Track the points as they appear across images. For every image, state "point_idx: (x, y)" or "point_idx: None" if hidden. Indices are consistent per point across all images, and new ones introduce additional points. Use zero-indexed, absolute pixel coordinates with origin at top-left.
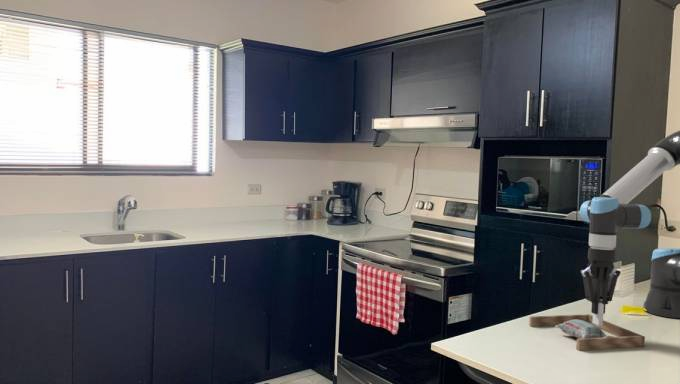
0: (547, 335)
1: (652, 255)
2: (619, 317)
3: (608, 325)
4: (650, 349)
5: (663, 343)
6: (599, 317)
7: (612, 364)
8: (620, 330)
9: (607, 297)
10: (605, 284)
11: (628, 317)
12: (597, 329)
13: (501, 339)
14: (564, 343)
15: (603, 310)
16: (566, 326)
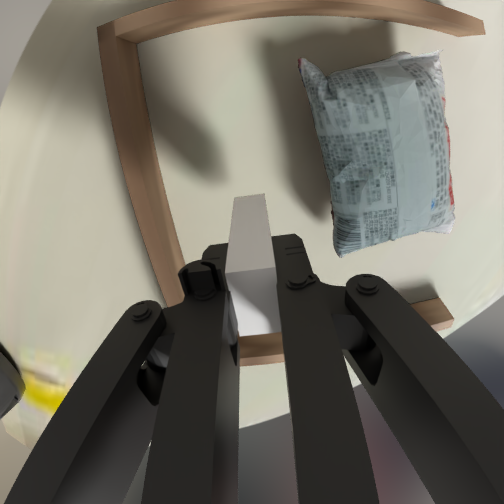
0: (461, 204)
1: None
2: (77, 371)
3: (167, 247)
4: (115, 7)
5: (23, 108)
6: (262, 213)
7: None
8: (144, 164)
9: (159, 343)
10: (189, 488)
11: (57, 367)
12: (355, 78)
13: None
14: (464, 105)
15: (229, 240)
16: (451, 184)
